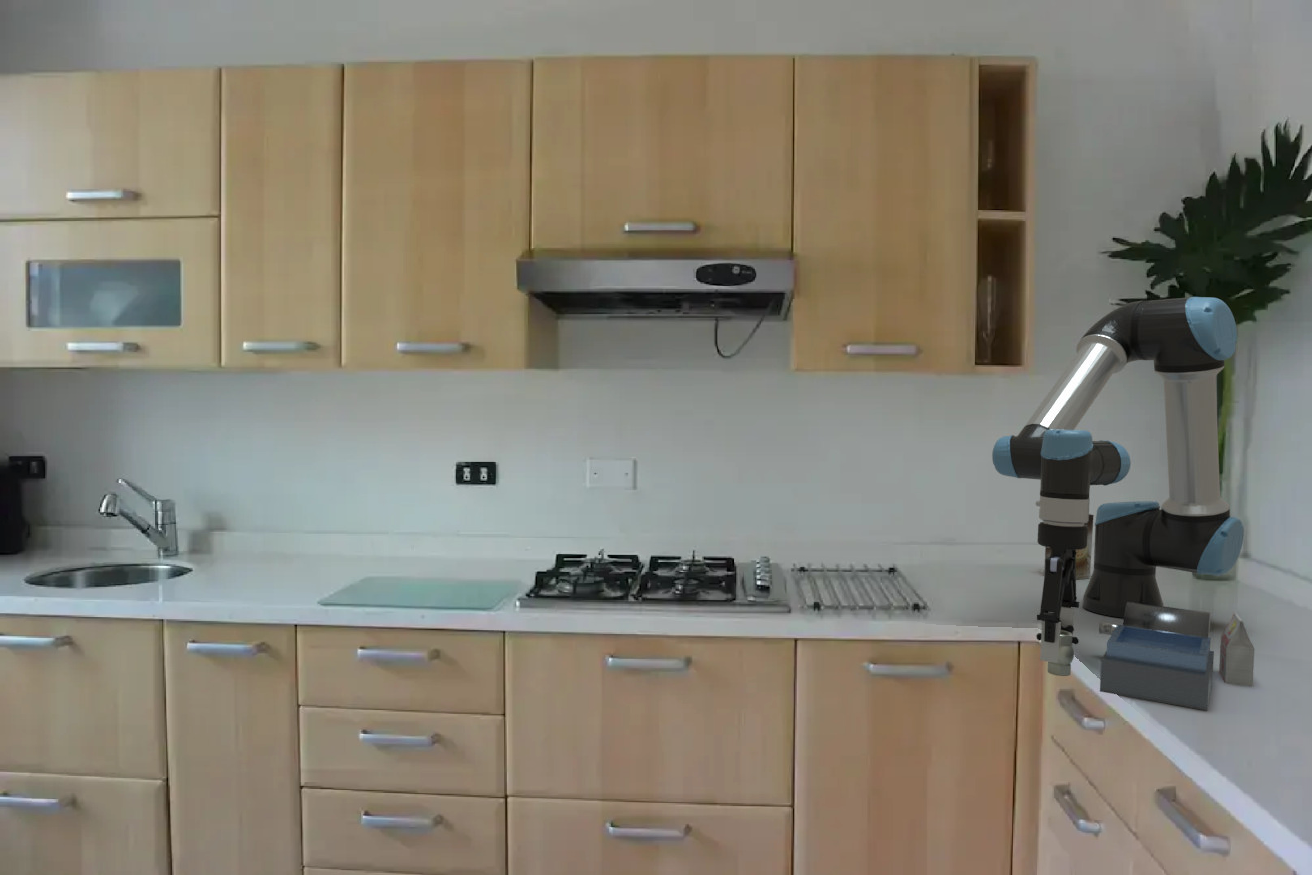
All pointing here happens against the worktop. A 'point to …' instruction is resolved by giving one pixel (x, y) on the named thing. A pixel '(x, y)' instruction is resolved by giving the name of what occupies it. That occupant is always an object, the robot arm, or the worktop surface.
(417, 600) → the worktop surface
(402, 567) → the worktop surface
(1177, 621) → the motor
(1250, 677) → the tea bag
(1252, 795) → the worktop surface
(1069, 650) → the valve
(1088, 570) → the coffee box
